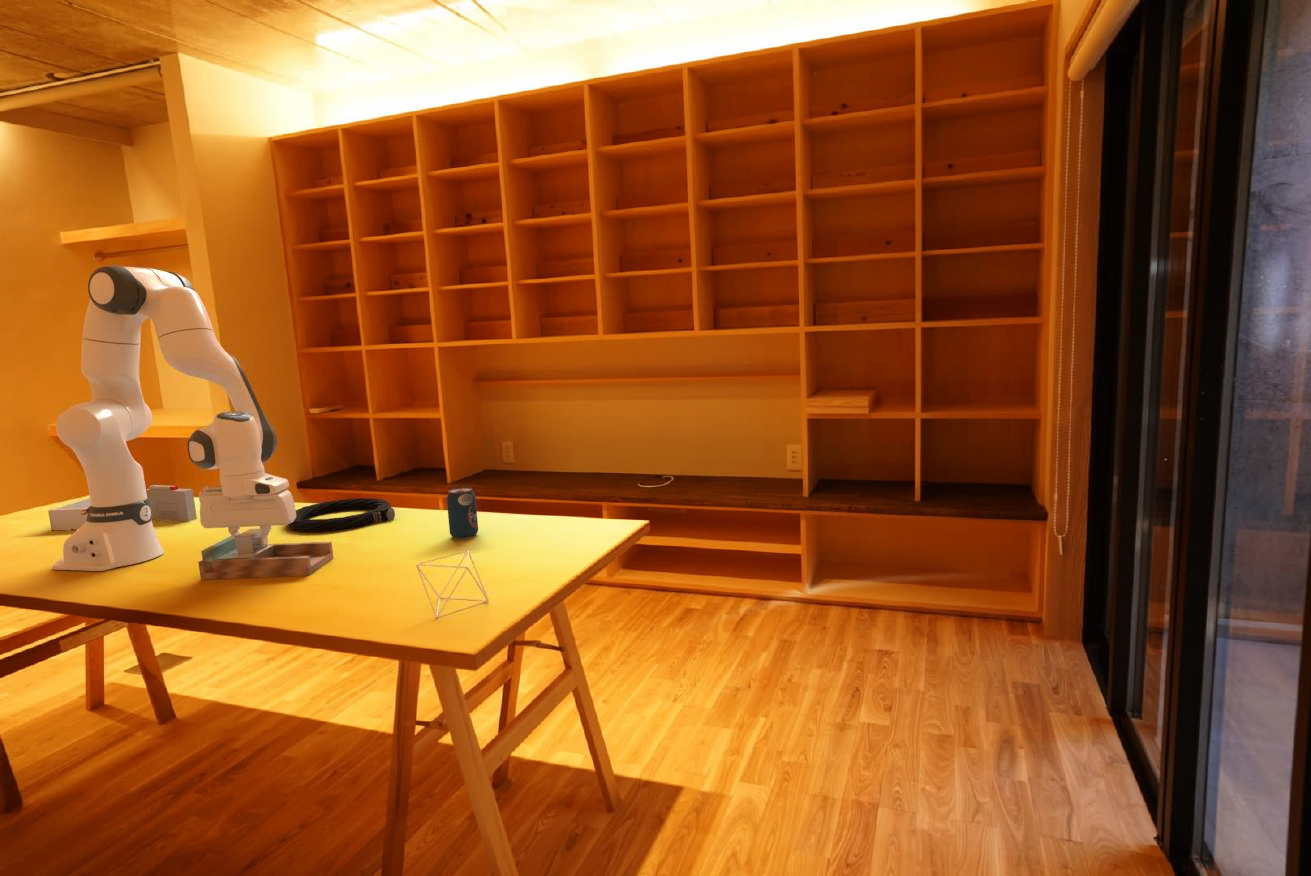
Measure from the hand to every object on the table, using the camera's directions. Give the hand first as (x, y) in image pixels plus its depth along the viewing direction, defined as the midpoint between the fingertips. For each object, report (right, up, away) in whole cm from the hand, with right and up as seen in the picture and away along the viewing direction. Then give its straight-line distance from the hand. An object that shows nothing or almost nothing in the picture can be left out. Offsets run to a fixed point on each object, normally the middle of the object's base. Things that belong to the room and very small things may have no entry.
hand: (252, 545), depth 171 cm
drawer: (+3, -5, +1) cm, 6 cm away
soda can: (+43, -1, +19) cm, 47 cm away
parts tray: (-74, 0, +56) cm, 93 cm away
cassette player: (-51, 0, +53) cm, 74 cm away
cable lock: (+3, +1, +42) cm, 43 cm away
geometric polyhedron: (+53, -8, -27) cm, 60 cm away
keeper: (-2, -4, +1) cm, 4 cm away
